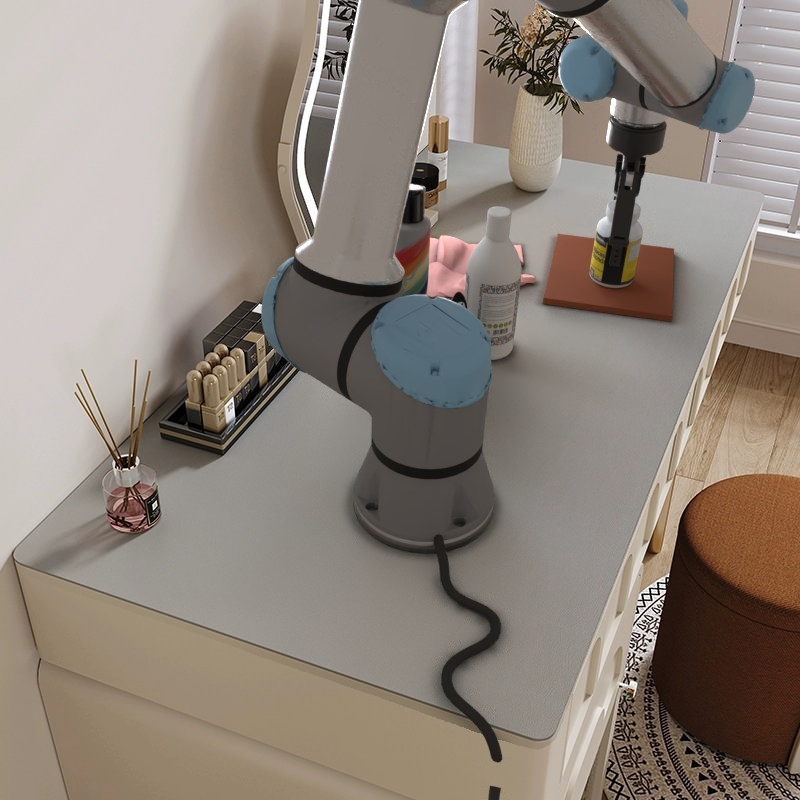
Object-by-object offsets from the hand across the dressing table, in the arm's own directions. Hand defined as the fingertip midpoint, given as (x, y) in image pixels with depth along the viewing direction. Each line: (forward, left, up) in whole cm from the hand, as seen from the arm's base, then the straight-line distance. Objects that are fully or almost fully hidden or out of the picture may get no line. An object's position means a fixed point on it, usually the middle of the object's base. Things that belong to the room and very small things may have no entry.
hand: (613, 259), depth 148 cm
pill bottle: (0, 0, -3) cm, 3 cm away
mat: (+2, 0, -4) cm, 5 cm away
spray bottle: (-17, +27, -4) cm, 32 cm away
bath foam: (-21, +15, -4) cm, 26 cm away
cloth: (-1, +21, -4) cm, 21 cm away
